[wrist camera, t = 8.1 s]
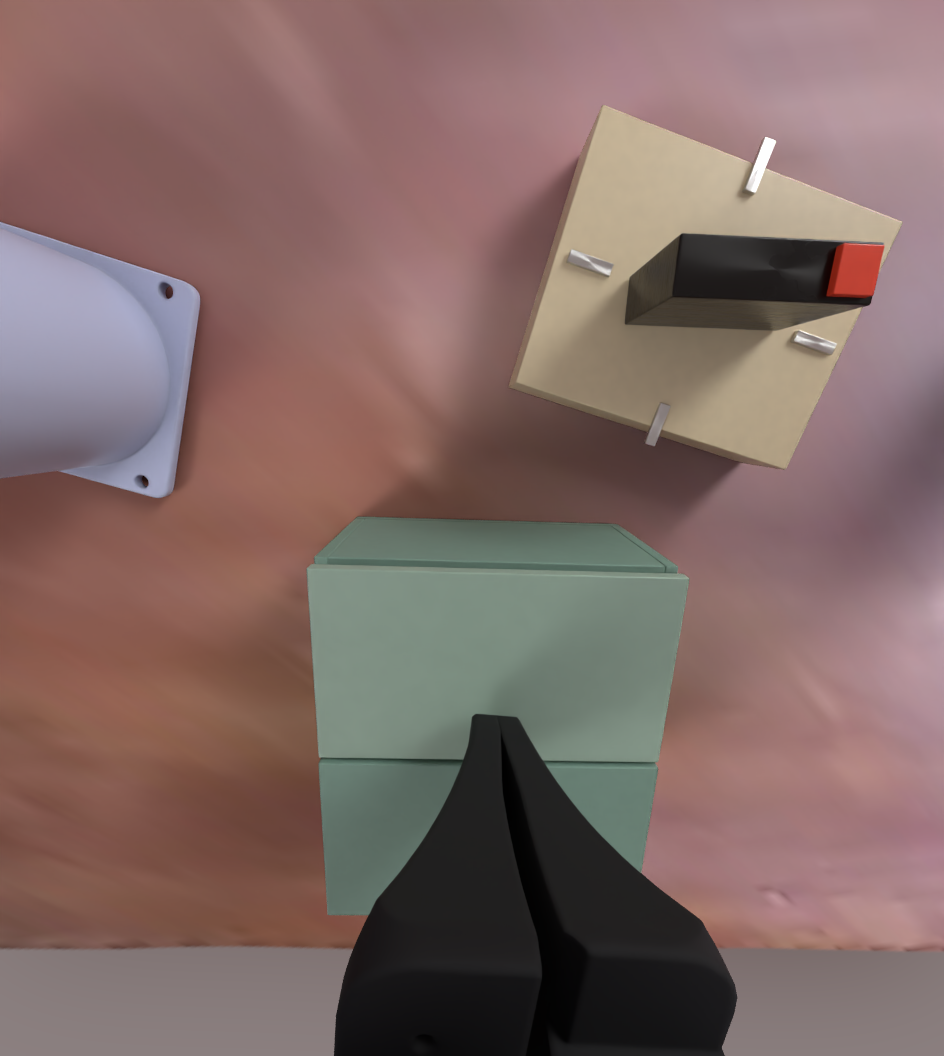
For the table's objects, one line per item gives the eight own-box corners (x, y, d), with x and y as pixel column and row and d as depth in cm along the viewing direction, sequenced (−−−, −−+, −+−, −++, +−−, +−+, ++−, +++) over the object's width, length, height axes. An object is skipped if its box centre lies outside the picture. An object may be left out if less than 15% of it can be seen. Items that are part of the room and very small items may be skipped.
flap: (310, 563, 12) (305, 568, 12) (683, 573, 13) (690, 578, 12) (322, 748, 14) (318, 758, 14) (653, 753, 14) (658, 763, 14)
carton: (356, 516, 18) (303, 565, 12) (617, 523, 18) (692, 575, 12) (364, 775, 21) (326, 917, 15) (587, 778, 21) (635, 919, 15)
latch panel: (503, 402, 17) (510, 400, 14) (586, 134, 15) (612, 75, 12) (736, 477, 18) (781, 487, 15) (845, 233, 16) (919, 197, 13)
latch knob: (623, 324, 14) (677, 293, 11) (628, 276, 14) (685, 227, 10) (776, 331, 14) (880, 302, 11) (785, 283, 14) (895, 237, 10)
